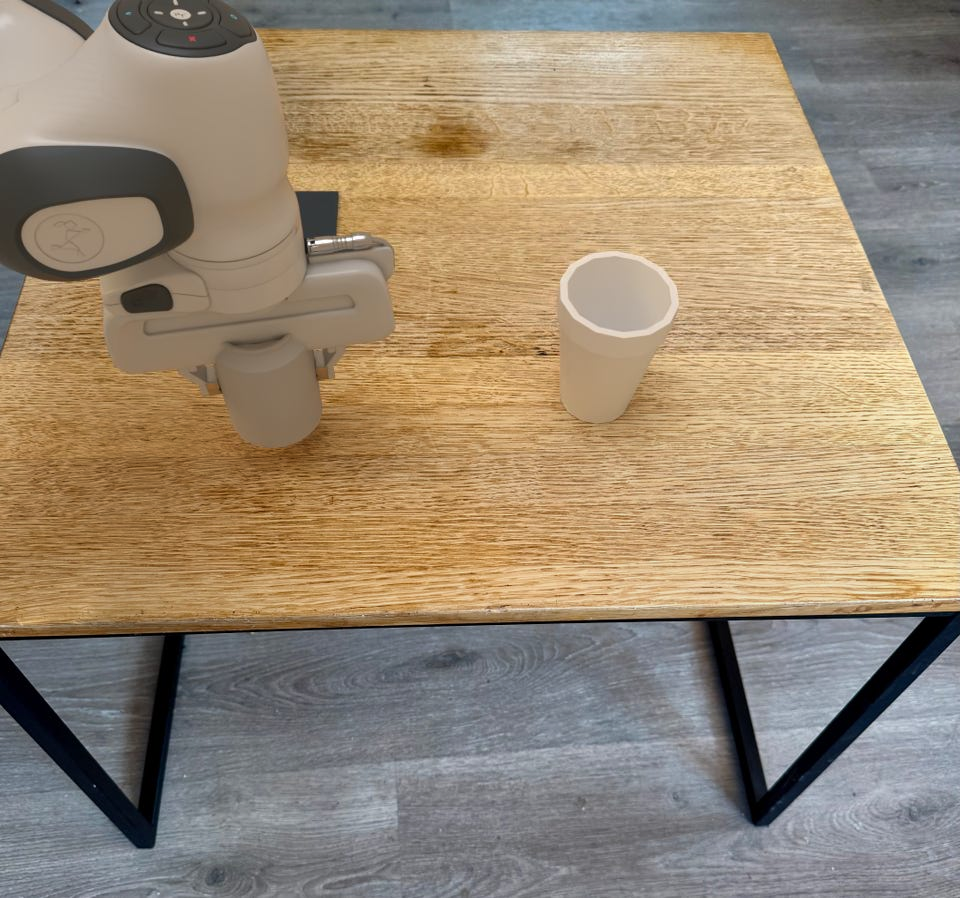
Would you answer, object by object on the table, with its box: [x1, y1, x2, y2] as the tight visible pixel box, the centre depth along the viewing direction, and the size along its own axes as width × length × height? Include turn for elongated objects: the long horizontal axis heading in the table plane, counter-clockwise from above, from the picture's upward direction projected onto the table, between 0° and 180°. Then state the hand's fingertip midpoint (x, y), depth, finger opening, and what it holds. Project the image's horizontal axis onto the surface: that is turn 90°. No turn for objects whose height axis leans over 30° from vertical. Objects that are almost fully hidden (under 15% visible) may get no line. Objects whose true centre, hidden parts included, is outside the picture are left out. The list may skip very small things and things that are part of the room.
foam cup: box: [556, 250, 680, 425], centre depth 74 cm, size 10×9×13 cm
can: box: [212, 334, 323, 449], centre depth 68 cm, size 8×8×12 cm
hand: (269, 381), depth 69 cm, fingers closed on can, 7 cm apart
